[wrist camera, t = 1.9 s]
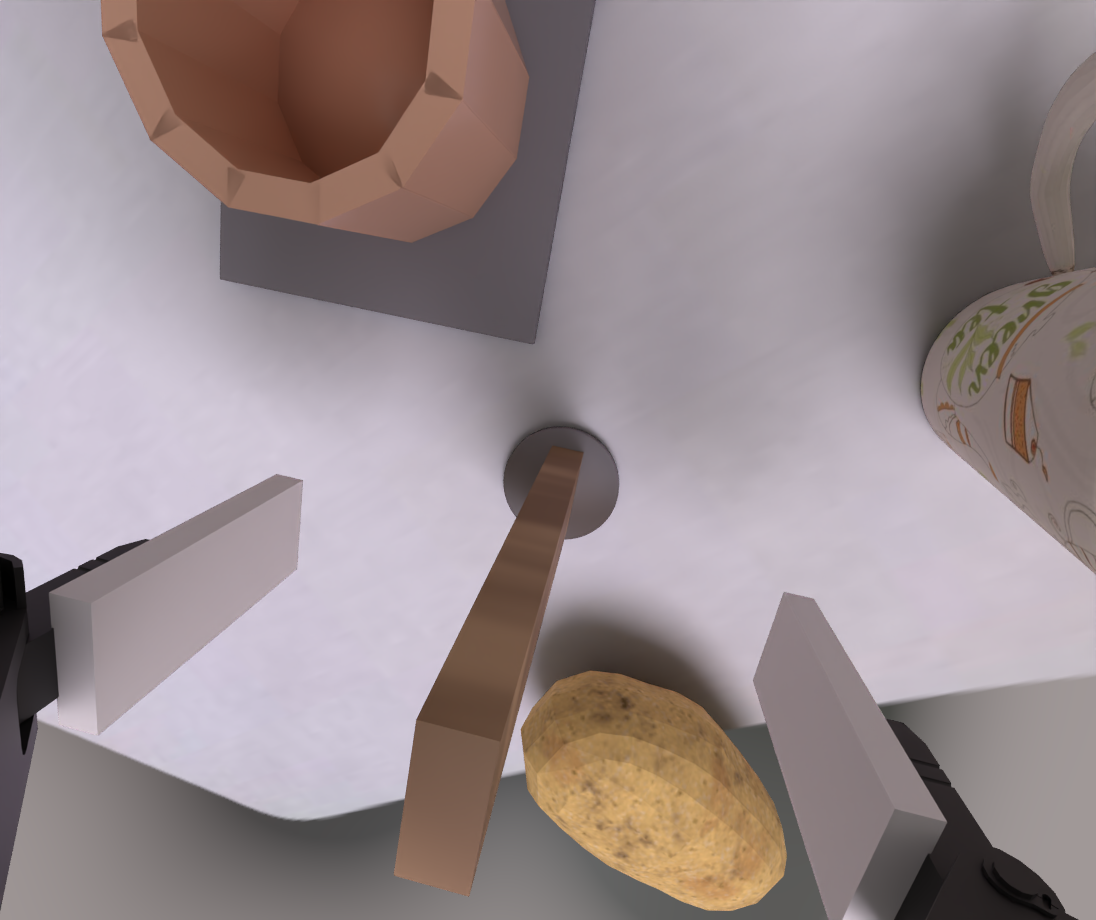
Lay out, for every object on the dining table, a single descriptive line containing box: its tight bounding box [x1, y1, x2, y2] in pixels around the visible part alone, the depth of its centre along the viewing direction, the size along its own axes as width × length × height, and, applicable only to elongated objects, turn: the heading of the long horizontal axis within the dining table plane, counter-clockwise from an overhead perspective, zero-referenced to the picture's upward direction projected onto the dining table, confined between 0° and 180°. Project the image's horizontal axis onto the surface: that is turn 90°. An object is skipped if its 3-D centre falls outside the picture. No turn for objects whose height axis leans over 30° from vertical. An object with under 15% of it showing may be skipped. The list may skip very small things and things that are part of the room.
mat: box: [220, 0, 596, 344], centre depth 19 cm, size 14×12×1 cm
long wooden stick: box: [394, 427, 619, 897], centre depth 16 cm, size 4×4×15 cm
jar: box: [101, 0, 529, 243], centre depth 16 cm, size 9×9×6 cm
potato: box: [521, 671, 787, 911], centre depth 22 cm, size 7×11×6 cm, turn 49°
